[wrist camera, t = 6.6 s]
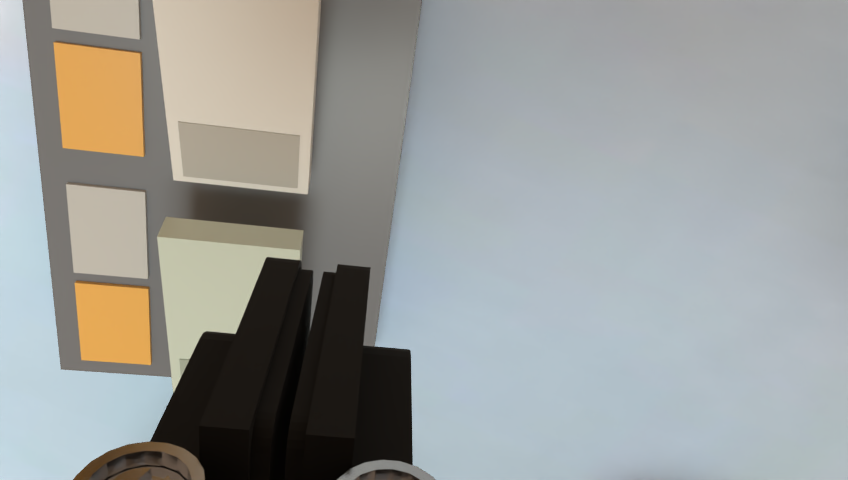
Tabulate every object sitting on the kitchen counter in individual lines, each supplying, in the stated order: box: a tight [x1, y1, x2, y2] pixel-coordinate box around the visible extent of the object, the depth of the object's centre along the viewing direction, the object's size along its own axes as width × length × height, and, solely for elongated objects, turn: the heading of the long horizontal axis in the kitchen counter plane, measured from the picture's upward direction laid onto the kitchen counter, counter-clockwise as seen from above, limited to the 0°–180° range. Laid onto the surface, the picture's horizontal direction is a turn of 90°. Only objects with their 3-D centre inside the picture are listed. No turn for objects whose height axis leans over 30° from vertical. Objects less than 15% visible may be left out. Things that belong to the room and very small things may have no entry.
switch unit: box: [23, 0, 422, 377], centre depth 28 cm, size 14×20×5 cm
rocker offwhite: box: [153, 0, 321, 194], centre depth 23 cm, size 5×9×1 cm, turn 172°
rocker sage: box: [157, 217, 304, 393], centre depth 27 cm, size 5×9×1 cm, turn 172°
